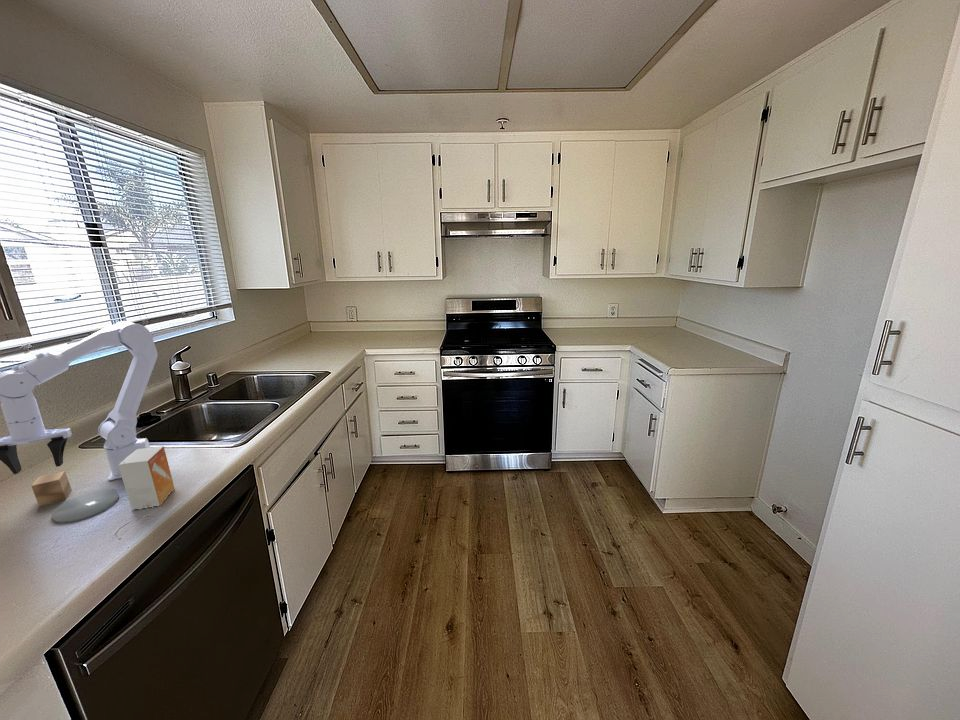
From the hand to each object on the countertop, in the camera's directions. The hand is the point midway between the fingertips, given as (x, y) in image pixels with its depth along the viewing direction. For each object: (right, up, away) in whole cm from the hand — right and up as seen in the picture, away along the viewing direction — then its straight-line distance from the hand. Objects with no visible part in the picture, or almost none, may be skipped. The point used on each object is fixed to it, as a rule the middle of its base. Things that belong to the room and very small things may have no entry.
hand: (39, 468), depth 100 cm
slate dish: (+13, -9, -1) cm, 16 cm away
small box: (+28, -9, +2) cm, 29 cm away
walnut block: (+1, -9, +3) cm, 9 cm away
